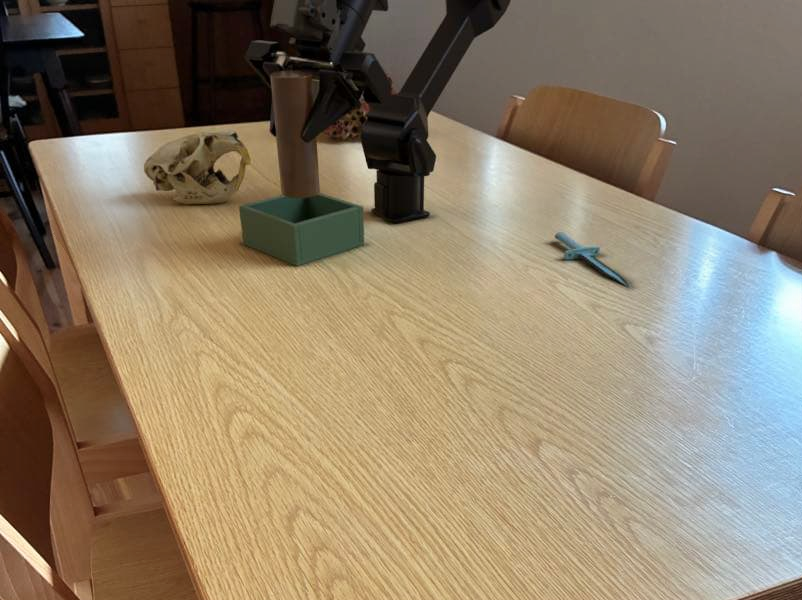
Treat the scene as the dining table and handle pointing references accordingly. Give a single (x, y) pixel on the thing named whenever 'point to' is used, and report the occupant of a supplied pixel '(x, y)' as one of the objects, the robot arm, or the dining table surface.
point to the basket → (302, 227)
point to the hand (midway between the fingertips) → (288, 137)
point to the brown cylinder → (295, 133)
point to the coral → (352, 121)
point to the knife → (588, 257)
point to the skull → (197, 167)
